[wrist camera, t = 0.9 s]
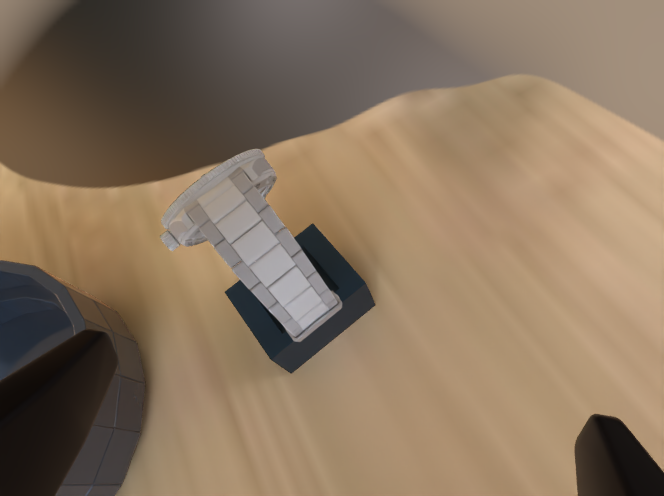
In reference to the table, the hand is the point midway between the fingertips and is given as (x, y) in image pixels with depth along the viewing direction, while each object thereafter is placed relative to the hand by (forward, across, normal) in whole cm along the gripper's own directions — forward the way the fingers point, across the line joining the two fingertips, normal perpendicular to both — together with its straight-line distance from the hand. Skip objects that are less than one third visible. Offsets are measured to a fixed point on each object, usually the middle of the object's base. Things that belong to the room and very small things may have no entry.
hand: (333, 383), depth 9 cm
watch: (+13, +3, +11) cm, 17 cm away
